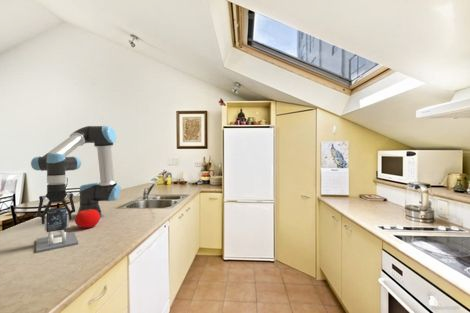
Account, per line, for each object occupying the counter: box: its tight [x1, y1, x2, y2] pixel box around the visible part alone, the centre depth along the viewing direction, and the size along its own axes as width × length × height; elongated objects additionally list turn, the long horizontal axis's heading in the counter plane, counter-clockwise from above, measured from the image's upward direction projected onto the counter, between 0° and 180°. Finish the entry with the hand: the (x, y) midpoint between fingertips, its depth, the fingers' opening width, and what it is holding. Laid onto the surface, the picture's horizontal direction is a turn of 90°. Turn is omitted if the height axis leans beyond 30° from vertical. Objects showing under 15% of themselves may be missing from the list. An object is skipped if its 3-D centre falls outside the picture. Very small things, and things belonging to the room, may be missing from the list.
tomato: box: [74, 209, 101, 229], centre depth 144 cm, size 12×13×11 cm
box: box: [46, 206, 67, 233], centre depth 119 cm, size 8×6×11 cm
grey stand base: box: [35, 230, 79, 254], centre depth 119 cm, size 16×20×6 cm
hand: (56, 228), depth 119 cm, fingers closed on box, 8 cm apart
